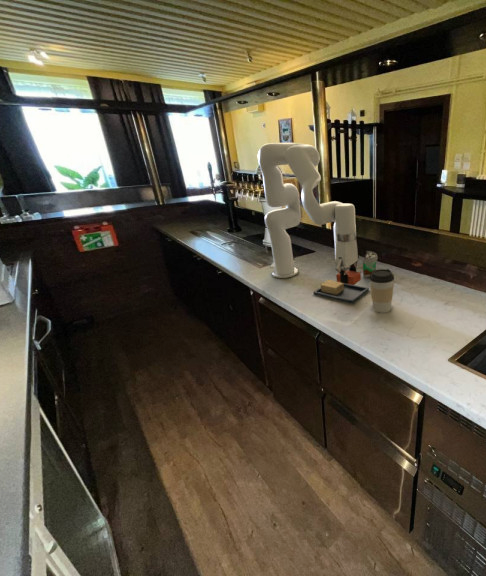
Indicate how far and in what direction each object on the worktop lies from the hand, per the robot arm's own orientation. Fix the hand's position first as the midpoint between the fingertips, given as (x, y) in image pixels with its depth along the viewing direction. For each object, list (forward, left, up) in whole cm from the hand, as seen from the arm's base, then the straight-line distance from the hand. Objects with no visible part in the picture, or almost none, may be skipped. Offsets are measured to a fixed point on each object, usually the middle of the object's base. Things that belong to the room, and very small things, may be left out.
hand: (348, 279), depth 123 cm
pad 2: (0, 0, -1) cm, 1 cm away
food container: (-2, +24, -7) cm, 25 cm away
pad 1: (-9, 0, -7) cm, 11 cm away
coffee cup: (+17, -4, -7) cm, 19 cm away
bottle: (-24, +33, -7) cm, 42 cm away
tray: (-4, 0, -7) cm, 8 cm away
